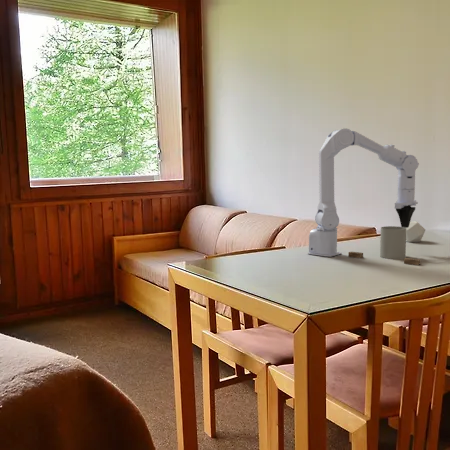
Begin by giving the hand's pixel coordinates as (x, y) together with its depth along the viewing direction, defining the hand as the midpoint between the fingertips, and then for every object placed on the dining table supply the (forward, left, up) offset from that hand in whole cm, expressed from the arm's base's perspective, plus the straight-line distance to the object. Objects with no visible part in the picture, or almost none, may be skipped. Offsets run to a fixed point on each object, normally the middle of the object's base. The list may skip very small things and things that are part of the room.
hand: (405, 227), depth 179 cm
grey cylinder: (0, -10, -9) cm, 14 cm away
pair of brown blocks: (0, -18, -9) cm, 20 cm away
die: (-7, +26, -9) cm, 28 cm away
